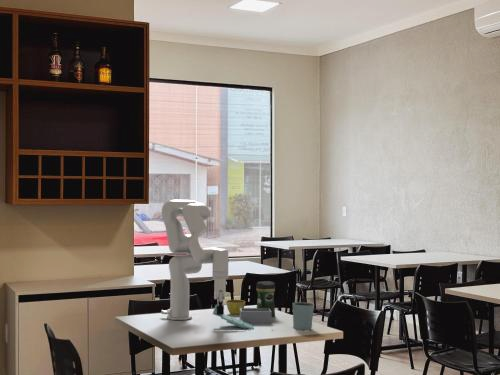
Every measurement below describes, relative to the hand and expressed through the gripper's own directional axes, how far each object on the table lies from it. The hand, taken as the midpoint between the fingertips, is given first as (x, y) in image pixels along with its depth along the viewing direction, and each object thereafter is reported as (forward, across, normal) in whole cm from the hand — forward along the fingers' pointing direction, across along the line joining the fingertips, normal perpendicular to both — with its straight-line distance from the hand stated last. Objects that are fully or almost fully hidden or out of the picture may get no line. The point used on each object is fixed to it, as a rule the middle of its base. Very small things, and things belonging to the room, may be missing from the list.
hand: (220, 313), depth 329 cm
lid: (+4, 0, +5) cm, 7 cm away
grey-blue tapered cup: (+7, +2, +39) cm, 40 cm away
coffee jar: (+7, -29, +24) cm, 38 cm away
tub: (+7, -13, +18) cm, 23 cm away
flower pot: (+6, -36, +9) cm, 38 cm away
